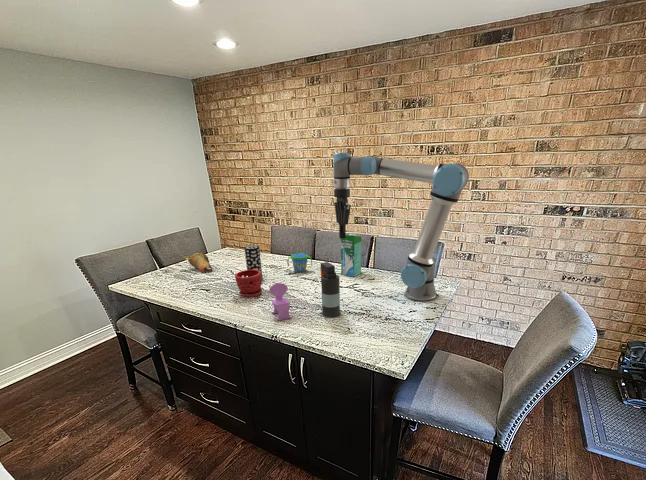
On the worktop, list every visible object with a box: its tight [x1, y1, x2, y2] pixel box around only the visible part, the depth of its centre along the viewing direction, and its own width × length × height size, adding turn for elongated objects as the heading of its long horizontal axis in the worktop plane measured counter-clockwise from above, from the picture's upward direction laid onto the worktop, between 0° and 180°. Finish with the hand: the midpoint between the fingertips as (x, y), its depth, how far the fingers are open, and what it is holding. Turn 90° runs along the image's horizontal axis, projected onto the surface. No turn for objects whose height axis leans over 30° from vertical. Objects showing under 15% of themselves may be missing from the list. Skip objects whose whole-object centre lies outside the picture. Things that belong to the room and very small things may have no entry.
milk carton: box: [340, 232, 362, 277], centre depth 204 cm, size 9×9×25 cm
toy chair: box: [268, 282, 292, 321], centre depth 151 cm, size 8×9×15 cm
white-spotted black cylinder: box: [243, 245, 264, 282], centre depth 195 cm, size 8×8×20 cm
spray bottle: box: [320, 261, 341, 318], centre depth 152 cm, size 11×8×23 cm
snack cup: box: [286, 252, 313, 273], centre depth 213 cm, size 16×10×10 cm
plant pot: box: [234, 269, 263, 298], centre depth 177 cm, size 13×13×12 cm
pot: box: [182, 251, 213, 273], centre depth 219 cm, size 17×11×18 cm
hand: (342, 238), depth 167 cm, fingers closed
